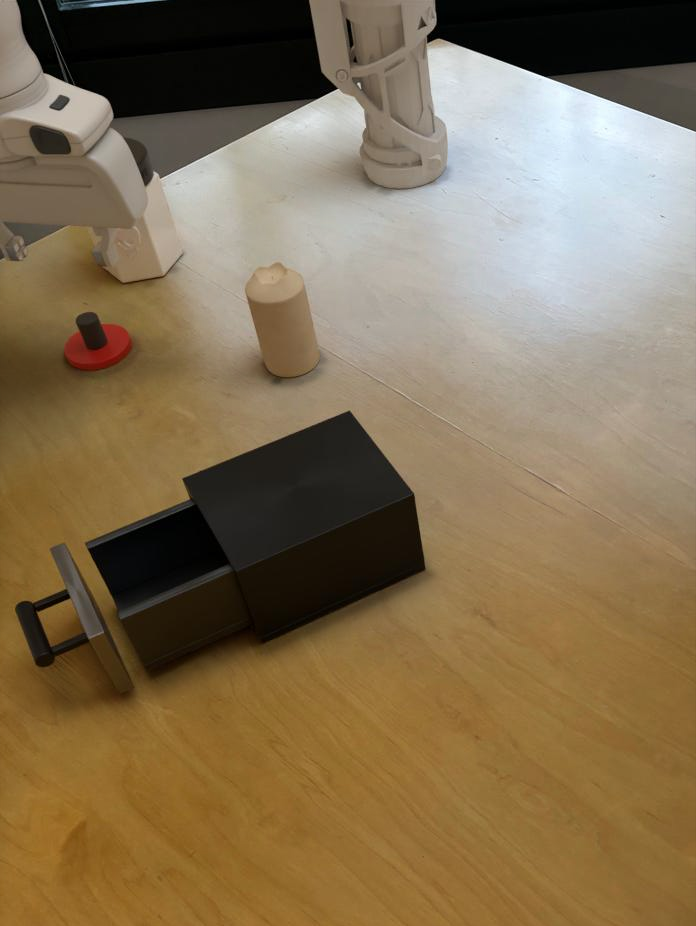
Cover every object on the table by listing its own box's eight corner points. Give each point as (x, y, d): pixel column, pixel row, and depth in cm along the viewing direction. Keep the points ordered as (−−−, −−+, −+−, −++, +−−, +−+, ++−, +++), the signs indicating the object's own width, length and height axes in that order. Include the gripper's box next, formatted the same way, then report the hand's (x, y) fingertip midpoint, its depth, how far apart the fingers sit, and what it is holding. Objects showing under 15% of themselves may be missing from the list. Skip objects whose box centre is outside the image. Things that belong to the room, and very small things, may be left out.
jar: (102, 289, 116) (61, 183, 107) (103, 248, 121) (63, 144, 112) (184, 274, 117) (151, 168, 107) (182, 234, 122) (149, 130, 112)
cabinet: (262, 644, 84) (235, 571, 77) (210, 552, 91) (181, 478, 84) (426, 569, 88) (414, 493, 81) (365, 486, 94) (349, 409, 88)
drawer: (65, 719, 80) (29, 664, 74) (30, 627, 86) (-6, 570, 80) (283, 620, 84) (264, 562, 79) (235, 539, 90) (214, 479, 85)
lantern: (447, 141, 131) (425, -95, 111) (452, 185, 125) (430, -57, 105) (341, 152, 131) (301, -82, 112) (341, 197, 125) (298, -43, 105)
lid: (77, 378, 107) (63, 346, 104) (59, 344, 110) (45, 313, 107) (140, 355, 108) (128, 323, 105) (120, 322, 112) (108, 290, 109)
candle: (255, 372, 106) (230, 283, 98) (281, 339, 109) (259, 250, 101) (304, 382, 104) (283, 293, 96) (329, 348, 107) (311, 259, 99)
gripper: (-126, 128, 90) (-52, 273, 101) (95, 137, 87) (148, 286, 98) (-88, 93, 94) (-20, 236, 105) (126, 99, 91) (174, 247, 101)
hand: (63, 260), depth 101 cm, fingers open, 8 cm apart
